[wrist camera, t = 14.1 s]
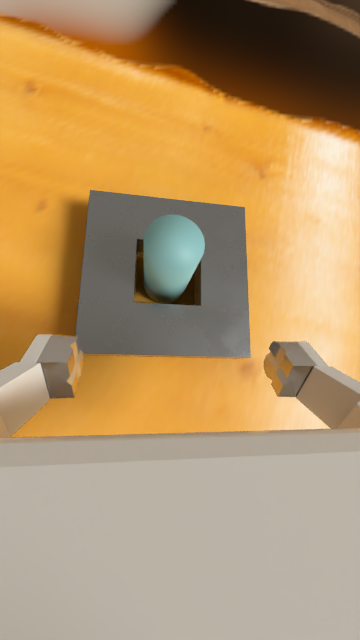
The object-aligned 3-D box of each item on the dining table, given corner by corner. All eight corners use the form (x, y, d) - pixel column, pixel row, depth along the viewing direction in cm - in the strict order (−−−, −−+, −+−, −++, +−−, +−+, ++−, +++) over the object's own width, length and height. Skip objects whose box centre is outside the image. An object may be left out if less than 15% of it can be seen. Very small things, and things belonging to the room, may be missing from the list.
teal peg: (142, 302, 23) (142, 269, 15) (144, 263, 24) (144, 211, 16) (184, 304, 23) (205, 273, 16) (185, 266, 24) (204, 217, 16)
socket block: (83, 355, 21) (73, 353, 18) (96, 211, 24) (90, 189, 21) (237, 358, 23) (250, 357, 20) (233, 225, 26) (244, 207, 23)
